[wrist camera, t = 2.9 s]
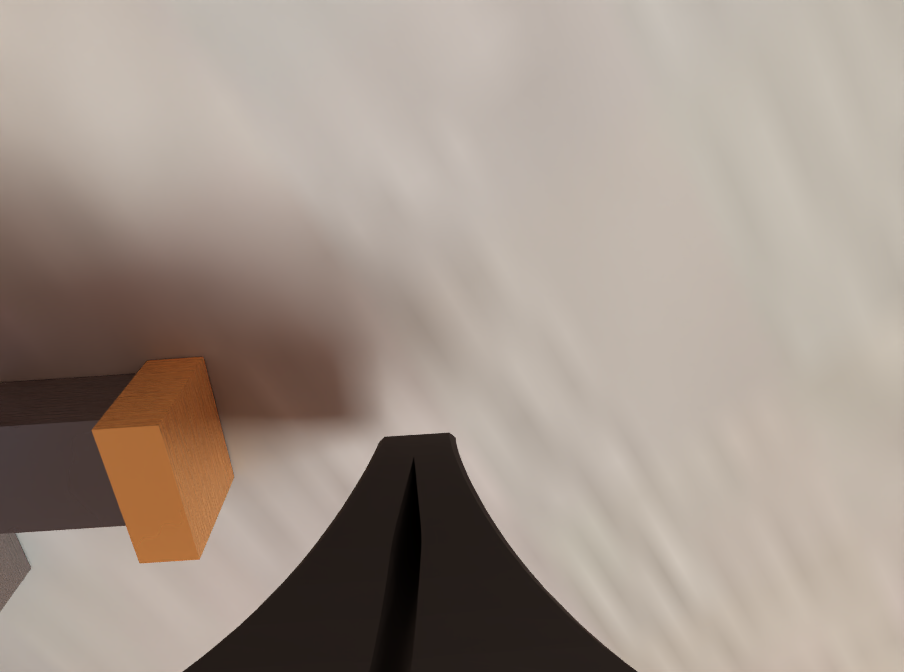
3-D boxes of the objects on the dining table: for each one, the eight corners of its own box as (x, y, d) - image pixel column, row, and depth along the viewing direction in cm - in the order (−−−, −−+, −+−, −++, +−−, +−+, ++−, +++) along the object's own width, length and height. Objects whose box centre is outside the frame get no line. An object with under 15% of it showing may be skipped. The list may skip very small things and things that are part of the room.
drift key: (38, 489, 16) (-30, 574, 13) (-12, 371, 14) (-99, 442, 12) (234, 476, 16) (199, 559, 13) (203, 356, 14) (158, 425, 12)
